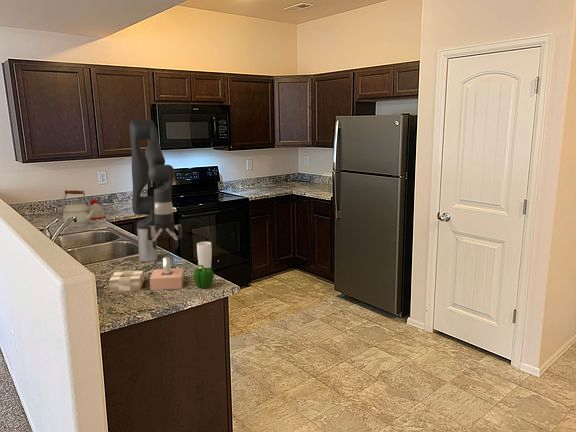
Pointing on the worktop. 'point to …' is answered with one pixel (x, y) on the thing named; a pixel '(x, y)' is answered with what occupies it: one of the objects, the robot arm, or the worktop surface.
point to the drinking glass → (204, 254)
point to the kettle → (77, 211)
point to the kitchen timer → (96, 210)
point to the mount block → (126, 281)
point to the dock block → (167, 279)
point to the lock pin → (166, 266)
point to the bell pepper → (203, 277)
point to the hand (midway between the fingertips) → (165, 248)
